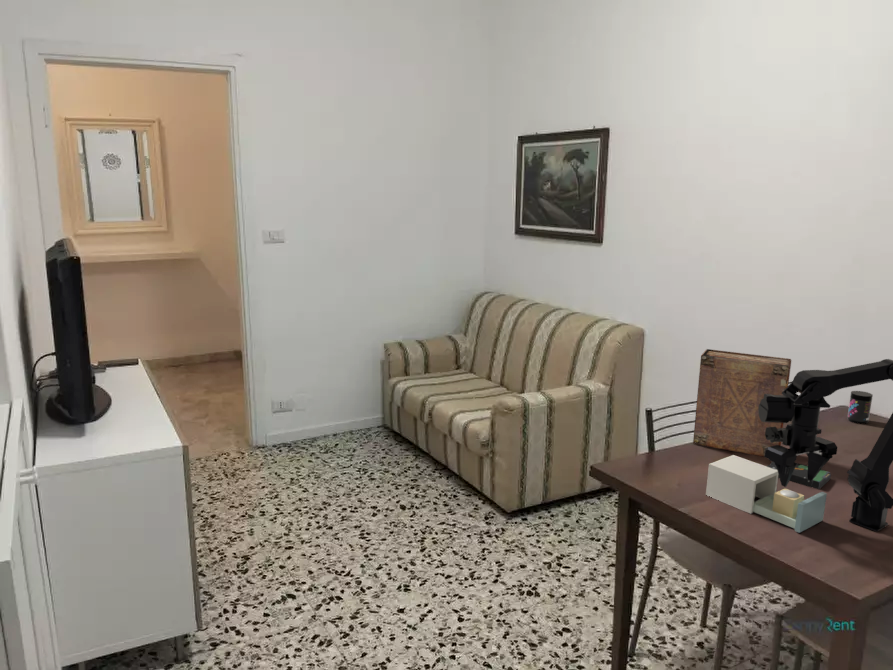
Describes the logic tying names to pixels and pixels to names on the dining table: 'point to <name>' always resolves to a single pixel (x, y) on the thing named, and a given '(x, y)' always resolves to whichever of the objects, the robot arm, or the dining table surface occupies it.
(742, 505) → the panel
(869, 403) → the supplement container
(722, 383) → the book
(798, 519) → the tray
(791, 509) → the dome button cube
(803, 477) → the disk drive
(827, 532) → the dining table surface
